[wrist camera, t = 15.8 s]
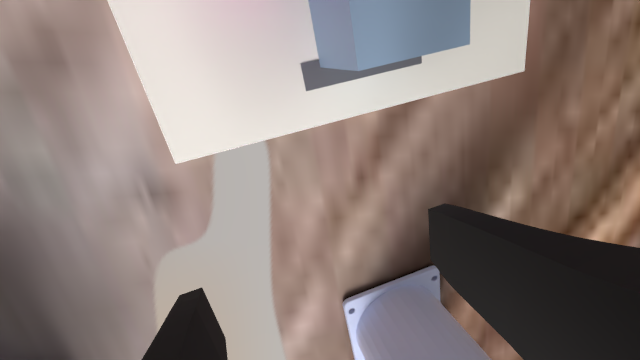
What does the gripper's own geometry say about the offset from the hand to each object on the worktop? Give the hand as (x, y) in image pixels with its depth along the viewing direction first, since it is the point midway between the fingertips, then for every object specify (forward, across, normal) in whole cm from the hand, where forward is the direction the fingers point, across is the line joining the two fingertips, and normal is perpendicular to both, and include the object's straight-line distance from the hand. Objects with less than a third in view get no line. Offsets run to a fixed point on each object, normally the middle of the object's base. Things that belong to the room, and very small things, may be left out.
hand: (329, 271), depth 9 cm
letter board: (+9, -6, -8) cm, 13 cm away
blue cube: (+9, -6, -8) cm, 13 cm away
